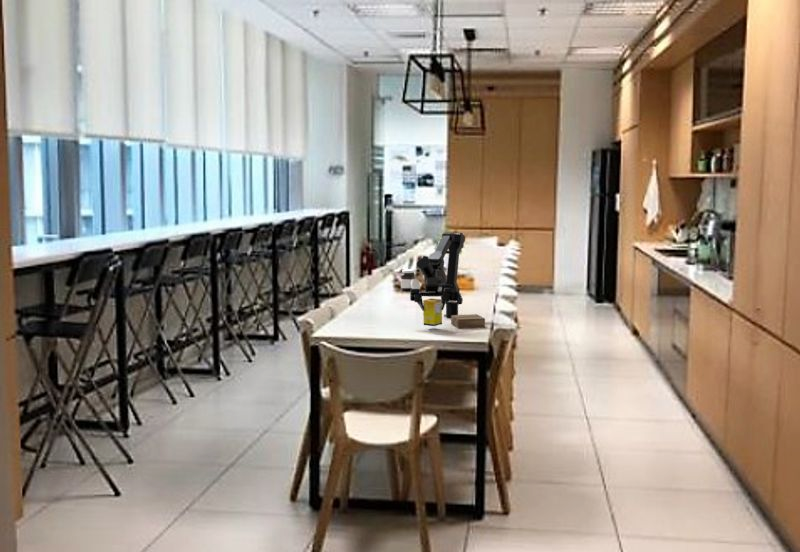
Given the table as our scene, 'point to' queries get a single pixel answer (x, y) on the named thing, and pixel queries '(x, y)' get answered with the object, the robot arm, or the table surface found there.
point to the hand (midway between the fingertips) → (432, 310)
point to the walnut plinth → (467, 321)
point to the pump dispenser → (442, 273)
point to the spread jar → (409, 280)
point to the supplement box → (432, 312)
